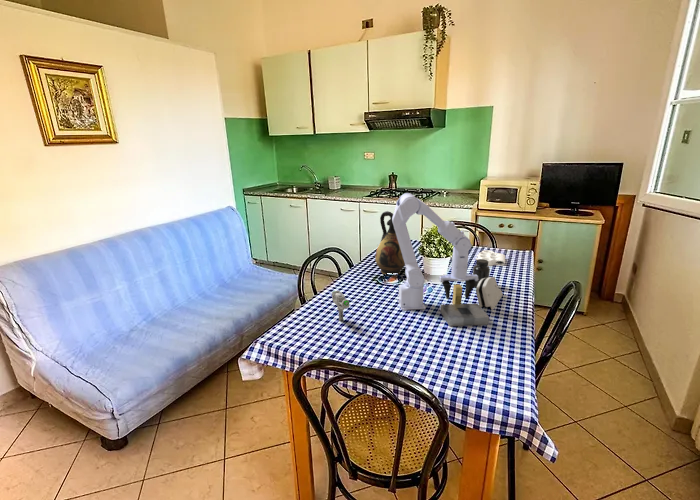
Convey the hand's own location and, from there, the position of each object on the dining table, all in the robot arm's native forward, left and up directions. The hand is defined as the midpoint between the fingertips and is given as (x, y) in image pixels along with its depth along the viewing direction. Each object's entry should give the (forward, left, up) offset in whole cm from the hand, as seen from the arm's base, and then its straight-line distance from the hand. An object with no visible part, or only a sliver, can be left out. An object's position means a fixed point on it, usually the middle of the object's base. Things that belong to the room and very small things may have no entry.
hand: (457, 297), depth 144 cm
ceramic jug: (-21, +38, -3) cm, 44 cm away
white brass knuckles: (+34, +49, -4) cm, 60 cm away
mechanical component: (-46, -9, -3) cm, 47 cm away
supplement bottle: (+16, +17, -3) cm, 24 cm away
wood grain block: (0, 0, -3) cm, 3 cm away
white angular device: (+14, +3, -3) cm, 15 cm away
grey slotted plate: (-1, -11, -3) cm, 11 cm away
